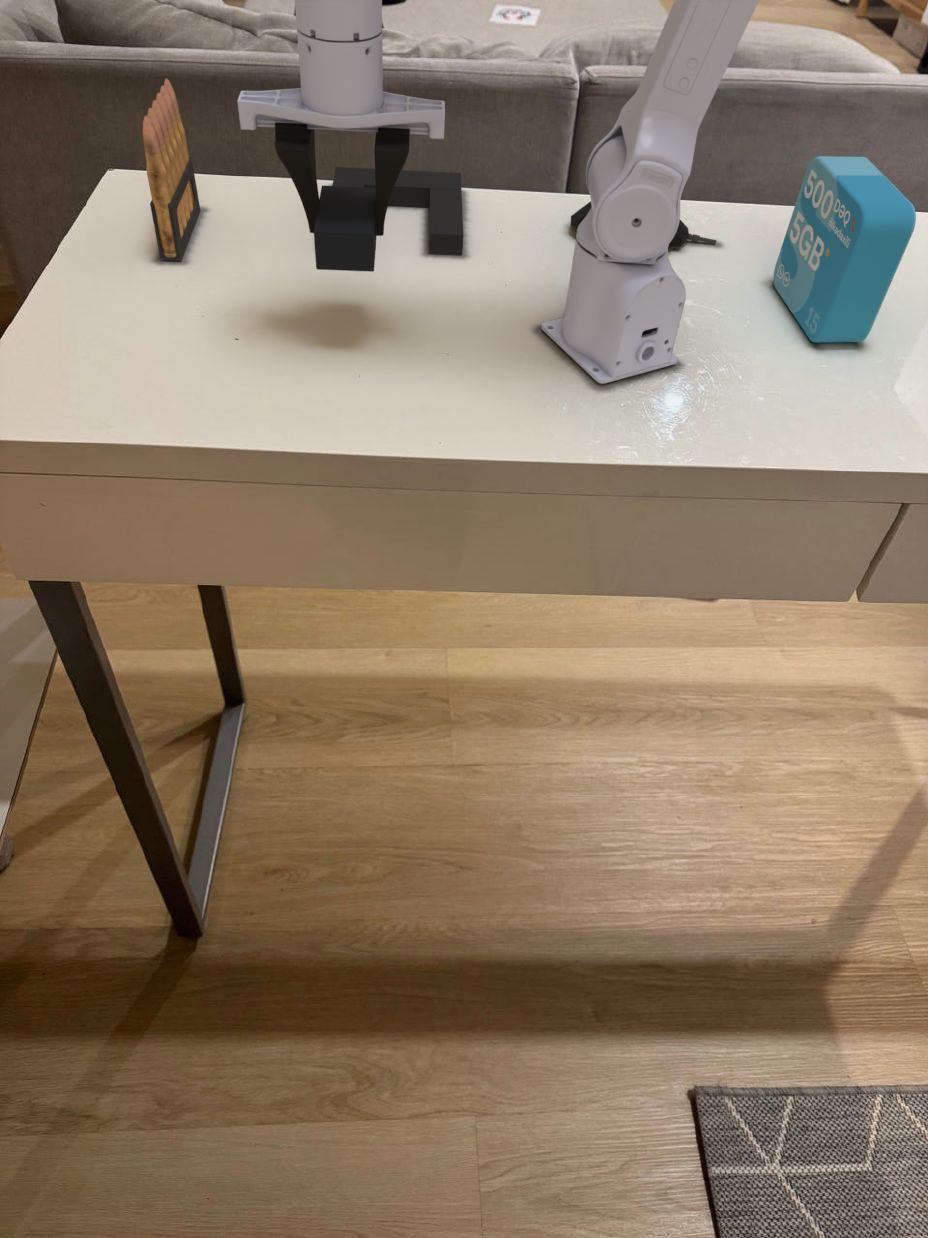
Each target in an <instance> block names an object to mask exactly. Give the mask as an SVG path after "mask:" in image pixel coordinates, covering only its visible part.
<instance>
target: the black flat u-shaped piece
mask: <svg viewBox="0 0 928 1238" xmlns="http://www.w3.org/2000/svg"><path fill="white" fill-rule="evenodd" d="M331 186H346V187H368V188H376V180H375V168H369V167H368V168H367V167H366V168H365V167H349V166H348V167H347V166H335V170H334V174H333V179H332V185H331ZM462 191H463V190H462V173H461V172H448V171H447V172H446V171H445V172H444V171H429V170H428V171H427V170H426V171H425V170H406V169H402V170H401V172H400V174H399V176H398V178H397V181H396V183H395V186H394V189H393V191H392V194H391V197H390V201H389V204H388V206H391V207H393V206H394V207H413V208H414V207H415V208H429V211H428V212H429V213H428V215H429V216H428V220H429V221H428V253H429V254H431V255H451V256H452V255H454V256H463V253H464V252H463V251H464V249H463V248H464V219H463V217H464V215H463V195H462V194H463V193H462Z"/></svg>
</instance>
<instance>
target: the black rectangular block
mask: <svg viewBox="0 0 928 1238" xmlns="http://www.w3.org/2000/svg"><path fill="white" fill-rule="evenodd" d="M375 203H376V188H368V187H346V186H332V185H321V188H320V193H319V205H318V211H317V216H316V221H315V227H314V233H313V242H314V257H315V269H316V270H319V271H323V270H324V271H348V272H370V273H371V272H372V273H373V272H374V271H375V264H376V251H377V250H376V249H377V238H378V236H375V218H374V217H375Z"/></svg>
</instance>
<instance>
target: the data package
mask: <svg viewBox="0 0 928 1238" xmlns="http://www.w3.org/2000/svg"><path fill="white" fill-rule="evenodd" d="M797 195H798V196H797V198H796V202H795V204H794V207H793V210H792V214H791V216H790V220H789V222H788V226H787V228H786V232H785V236H784V239H783V242H782V245H781V247H780V251H779V253H778V256H777V260H776V263H775V266H774V270H773V285H774V288H775V290H776V291H777V294H779V296H780V298H781V299H782V301H783V302H784V304H785V305H786V306H787V308H788V309H789V311H790V312H791V314H792V315H793V317H794V319H795V320H796V322H797V323H798V324H799V326H800V327H801V329H802V330H803V332H804V333H805V335H806V336H807V338H808V340H809V341H811V342H812V343H860V342H863V341H865V340H866V339H867V338H868V336H869V335H870V334H871V331H872V328H873V327H874V323H875V321H876V319H877V317H878V314H879V312H880V310H881V307H882V305H883V303H884V301H885V298H886V296H887V294H888V291H889V289H890V286H891V285H892V282H893V279H894V277H895V276H896V273H897V270H898V268H899V266H900V264H901V261H902V259H903V257H904V254H905V252H906V249H907V248H908V245H909V243H910V240H911V238H912V236H913V233H914V231H915V228H916V223H917V214H916V213H917V212H916V208H915V206H914V204H913V203H912V202H911V201H910V200H909V199H908V198H907V197H906V196H905V195H904V194H903V193H902V192H901V191H900V190H899V189H898V188H897V187H896V186H895V185H894V184H893V183H892V182H891V181H890V179H888V177H886V176H885V174H883V173H882V171H881V170H879V169H878V168H877V166H875V164H873V162H871V161H870V159H869V158H867V157H866V156H839V155H838V156H835V155H834V156H831V155H830V156H828V155H826V156H825V155H824V156H823V155H819V156H815V157H814V158H813V159H811V161H810V162H809V164H808V166H807V168H806V171H805V174H804V176H803V180H802V183H801V186H800V189H799V192H798V194H797Z"/></svg>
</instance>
